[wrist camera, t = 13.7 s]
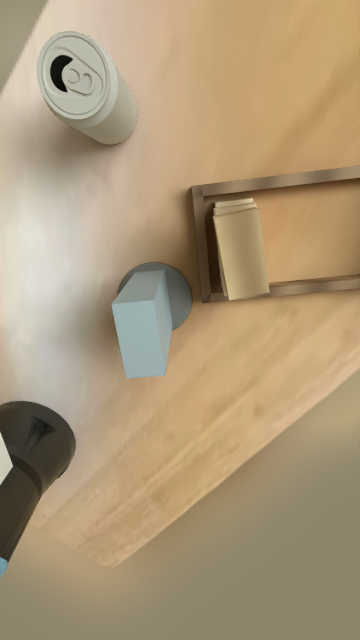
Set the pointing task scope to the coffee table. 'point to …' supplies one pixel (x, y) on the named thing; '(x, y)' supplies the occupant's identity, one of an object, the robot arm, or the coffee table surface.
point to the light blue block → (144, 324)
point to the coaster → (169, 290)
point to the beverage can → (86, 87)
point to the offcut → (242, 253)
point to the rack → (257, 184)
